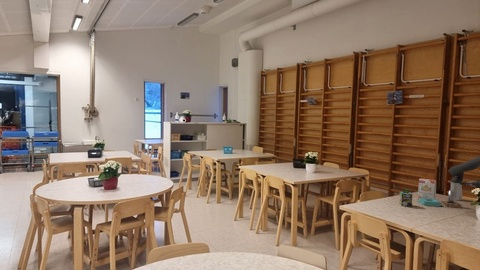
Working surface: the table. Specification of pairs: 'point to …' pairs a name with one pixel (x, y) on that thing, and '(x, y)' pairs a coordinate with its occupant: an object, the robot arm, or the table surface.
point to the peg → (451, 197)
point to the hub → (429, 202)
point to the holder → (451, 204)
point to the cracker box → (427, 188)
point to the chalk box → (405, 198)
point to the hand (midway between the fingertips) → (461, 183)
